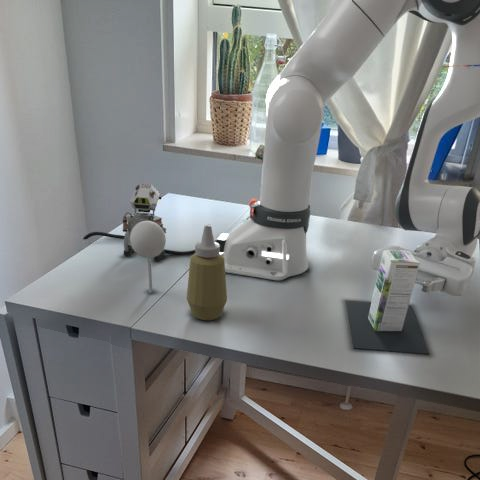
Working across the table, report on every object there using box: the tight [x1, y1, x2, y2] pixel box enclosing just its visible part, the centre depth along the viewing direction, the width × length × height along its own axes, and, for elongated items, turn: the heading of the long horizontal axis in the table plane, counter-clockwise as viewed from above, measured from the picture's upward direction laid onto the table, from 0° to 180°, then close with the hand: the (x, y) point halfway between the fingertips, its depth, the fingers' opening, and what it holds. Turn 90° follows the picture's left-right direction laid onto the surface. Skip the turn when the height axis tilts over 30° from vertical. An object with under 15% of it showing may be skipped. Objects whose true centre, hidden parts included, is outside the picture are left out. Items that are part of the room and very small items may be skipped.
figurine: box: [122, 183, 167, 262], centre depth 133 cm, size 9×12×15 cm
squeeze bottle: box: [186, 223, 228, 321], centre depth 109 cm, size 8×8×18 cm
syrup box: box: [368, 250, 420, 331], centre depth 110 cm, size 6×6×14 cm
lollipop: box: [130, 221, 167, 294], centre depth 116 cm, size 7×7×15 cm
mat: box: [345, 300, 429, 355], centre depth 114 cm, size 14×20×1 cm
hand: (403, 281), depth 112 cm, fingers open, 8 cm apart
